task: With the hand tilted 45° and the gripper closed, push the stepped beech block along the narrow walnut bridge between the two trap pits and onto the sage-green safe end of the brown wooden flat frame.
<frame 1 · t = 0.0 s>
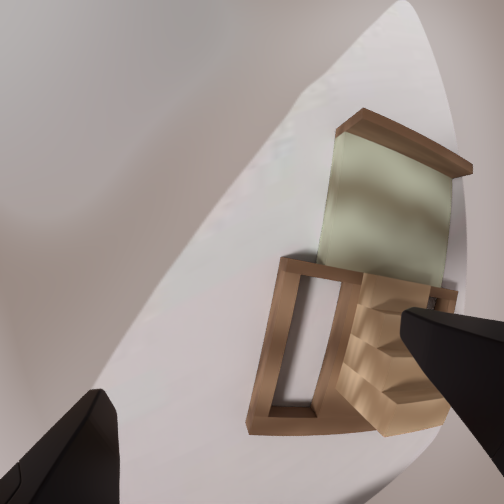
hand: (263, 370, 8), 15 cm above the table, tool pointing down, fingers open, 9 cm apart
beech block: (379, 335, 23), point 2 cm above the table, touching brown wooden flat frame
brown wooden flat frame: (376, 292, 25), on the table
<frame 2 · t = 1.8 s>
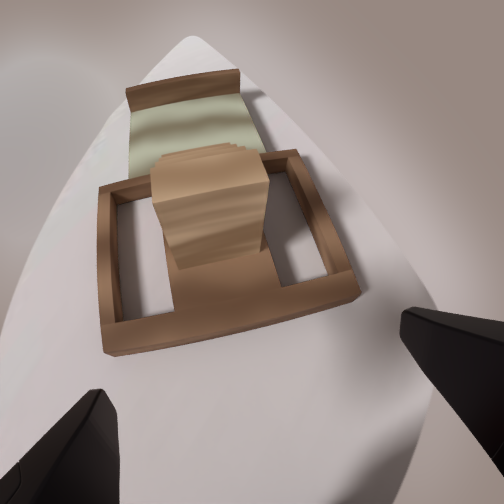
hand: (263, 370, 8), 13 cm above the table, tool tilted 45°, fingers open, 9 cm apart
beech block: (206, 206, 24), point 2 cm above the table, touching brown wooden flat frame
brown wooden flat frame: (201, 189, 27), on the table
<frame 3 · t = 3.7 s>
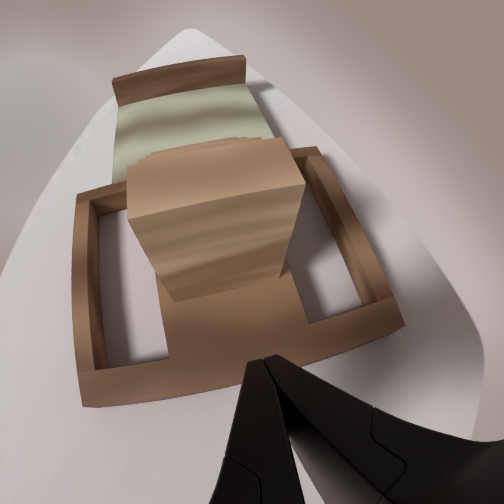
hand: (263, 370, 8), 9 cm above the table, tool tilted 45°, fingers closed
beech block: (208, 218, 19), point 2 cm above the table, touching brown wooden flat frame
brown wooden flat frame: (202, 196, 22), on the table
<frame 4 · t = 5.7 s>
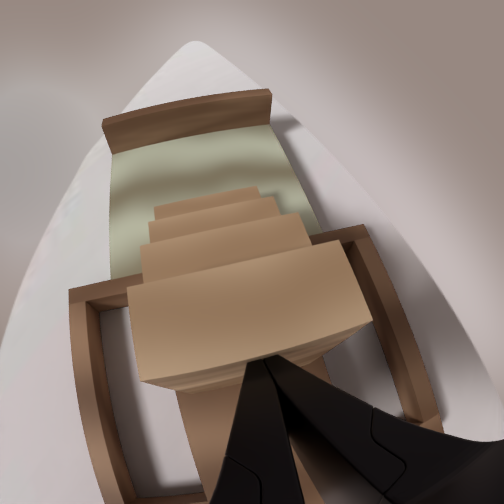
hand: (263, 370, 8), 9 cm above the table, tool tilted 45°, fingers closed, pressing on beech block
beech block: (226, 290, 16), point 2 cm above the table, touching gripper
brown wooden flat frame: (225, 292, 18), on the table
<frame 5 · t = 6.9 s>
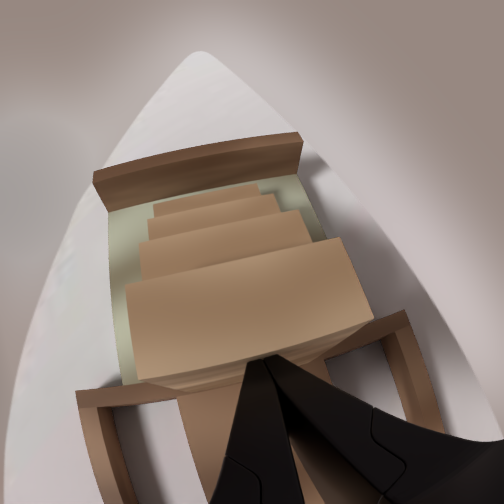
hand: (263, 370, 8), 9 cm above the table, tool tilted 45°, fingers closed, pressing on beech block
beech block: (225, 288, 16), point 2 cm above the table, touching gripper, brown wooden flat frame
brown wooden flat frame: (252, 391, 15), on the table
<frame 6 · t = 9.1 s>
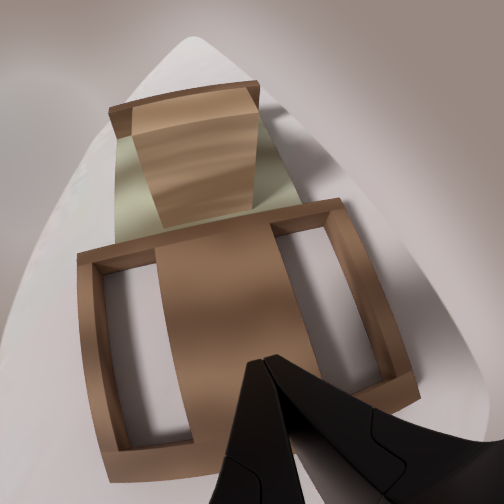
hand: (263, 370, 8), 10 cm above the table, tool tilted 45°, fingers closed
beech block: (196, 166, 22), point 2 cm above the table, touching brown wooden flat frame
brown wooden flat frame: (215, 256, 21), on the table
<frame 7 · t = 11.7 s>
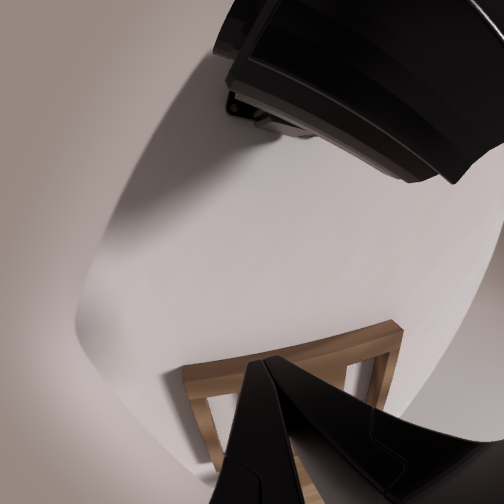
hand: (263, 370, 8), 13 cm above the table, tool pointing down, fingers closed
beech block: (300, 474, 29), point 2 cm above the table, touching brown wooden flat frame
brown wooden flat frame: (296, 435, 28), on the table
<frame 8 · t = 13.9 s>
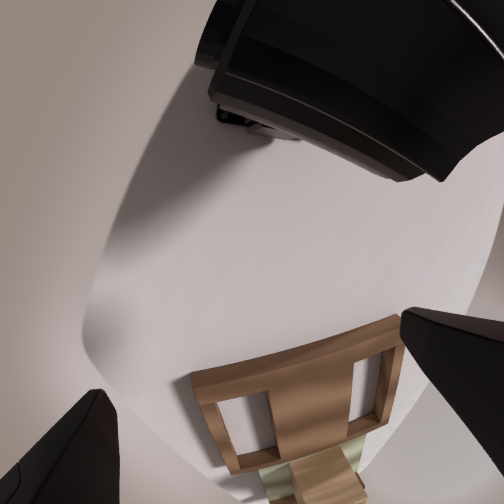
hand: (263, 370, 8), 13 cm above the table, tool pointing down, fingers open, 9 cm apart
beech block: (314, 472, 29), point 2 cm above the table, touching brown wooden flat frame
brown wooden flat frame: (308, 434, 28), on the table
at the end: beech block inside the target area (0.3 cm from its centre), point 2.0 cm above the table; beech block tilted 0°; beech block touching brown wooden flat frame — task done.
